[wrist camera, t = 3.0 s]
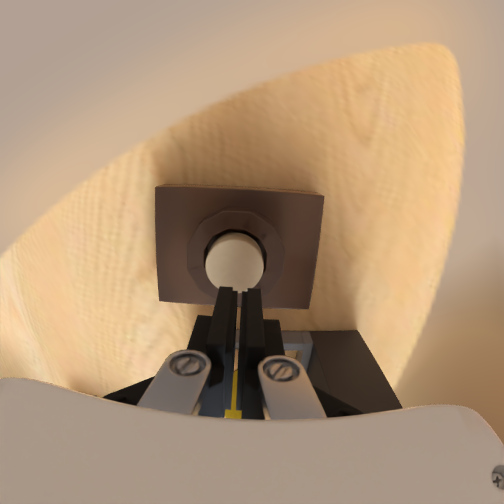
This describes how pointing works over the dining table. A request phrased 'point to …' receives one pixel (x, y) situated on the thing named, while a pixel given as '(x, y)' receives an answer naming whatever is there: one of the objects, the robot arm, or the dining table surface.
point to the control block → (237, 221)
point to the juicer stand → (341, 368)
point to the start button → (234, 262)
